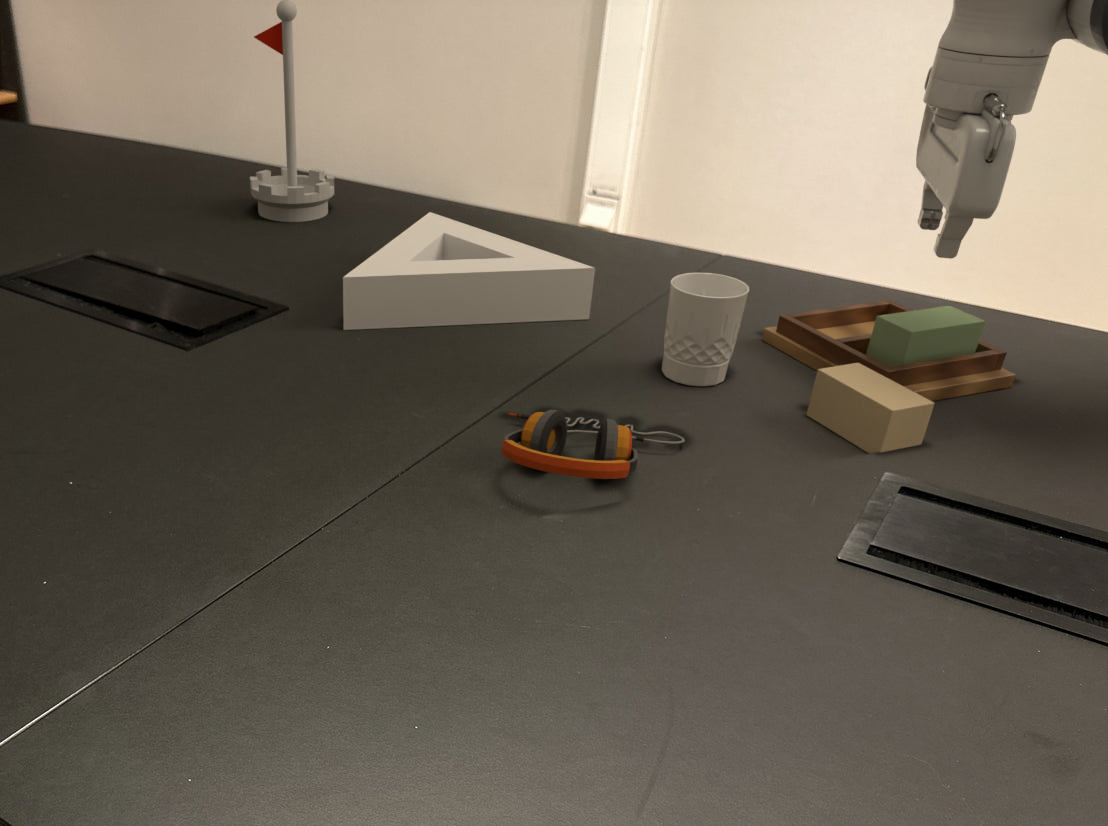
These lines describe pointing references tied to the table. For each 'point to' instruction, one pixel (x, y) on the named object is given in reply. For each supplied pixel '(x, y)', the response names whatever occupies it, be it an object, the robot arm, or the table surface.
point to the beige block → (868, 408)
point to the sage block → (923, 335)
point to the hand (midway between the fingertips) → (935, 241)
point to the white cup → (702, 327)
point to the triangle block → (462, 281)
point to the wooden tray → (846, 342)
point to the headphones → (548, 439)
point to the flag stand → (289, 146)
